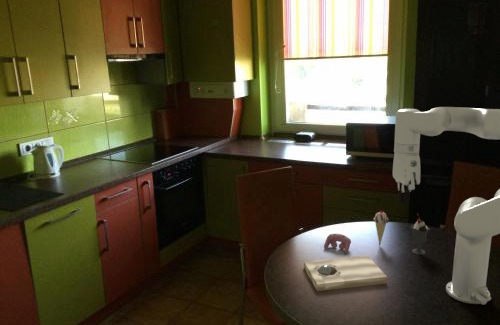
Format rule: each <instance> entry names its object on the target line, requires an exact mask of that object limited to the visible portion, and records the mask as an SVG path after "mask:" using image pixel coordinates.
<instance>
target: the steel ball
mask: <svg viewBox="0 0 500 325" xmlns="http://www.w3.org/2000/svg"><path fill="white" fill-rule="evenodd" d="M319 273H320V274H323V275H327V276H328V275H333V274H332V270H331V268H330V267H329V266H327V265H323V266H321V267H320V268H319Z"/></svg>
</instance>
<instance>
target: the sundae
mask: <svg viewBox="0 0 500 325" xmlns="http://www.w3.org/2000/svg"><path fill="white" fill-rule="evenodd" d="M416 215H417V216H418V219H417V220H416V222H414V224H411V225H410V228H411V230H412V235H413V241H414V242H415V244H417V247H416V248H414V249H412V250H411V252H412V254H414V255H418V256H424V255H425V254H426V251H425V250H424V249H422V247H421V246H422V244H424V243H425V242H426V239H427V235H428V231H430V230H431V228H430V227H429V226H427V225H426V224H425V221H424V220H421V219H420V218H421V217H420V215H419V213H416Z"/></svg>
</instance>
